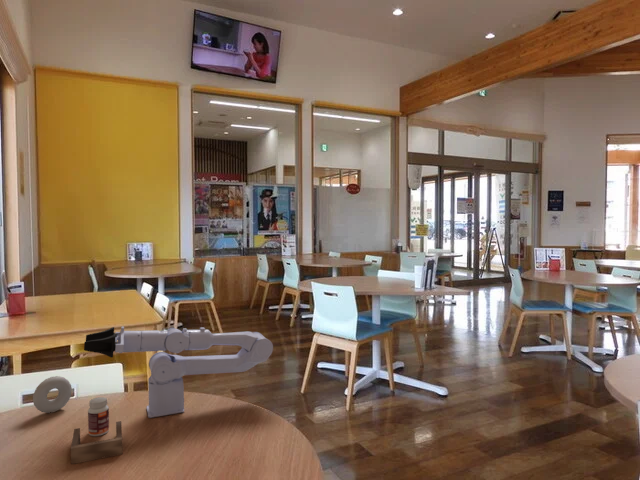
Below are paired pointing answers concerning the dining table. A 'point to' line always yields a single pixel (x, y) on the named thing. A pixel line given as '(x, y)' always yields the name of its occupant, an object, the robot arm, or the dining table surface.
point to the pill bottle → (98, 416)
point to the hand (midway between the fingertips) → (84, 342)
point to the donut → (43, 390)
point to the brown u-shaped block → (96, 447)
